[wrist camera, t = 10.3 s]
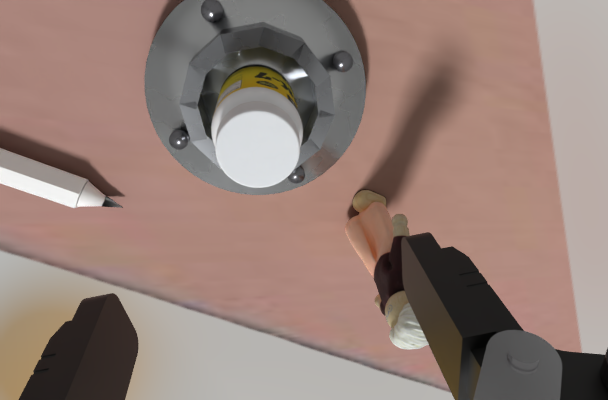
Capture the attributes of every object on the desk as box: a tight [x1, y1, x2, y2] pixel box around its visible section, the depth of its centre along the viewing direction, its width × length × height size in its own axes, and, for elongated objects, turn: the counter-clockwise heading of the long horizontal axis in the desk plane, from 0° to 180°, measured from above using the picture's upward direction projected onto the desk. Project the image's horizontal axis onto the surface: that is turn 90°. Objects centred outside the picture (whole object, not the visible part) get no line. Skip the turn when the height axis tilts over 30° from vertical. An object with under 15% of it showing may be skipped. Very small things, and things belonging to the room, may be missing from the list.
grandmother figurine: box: [345, 190, 429, 349], centre depth 28 cm, size 8×4×13 cm, turn 7°
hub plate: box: [145, 0, 366, 195], centre depth 26 cm, size 14×14×3 cm
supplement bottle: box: [211, 64, 303, 188], centre depth 23 cm, size 5×5×8 cm
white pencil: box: [0, 148, 123, 208], centre depth 27 cm, size 3×2×16 cm
